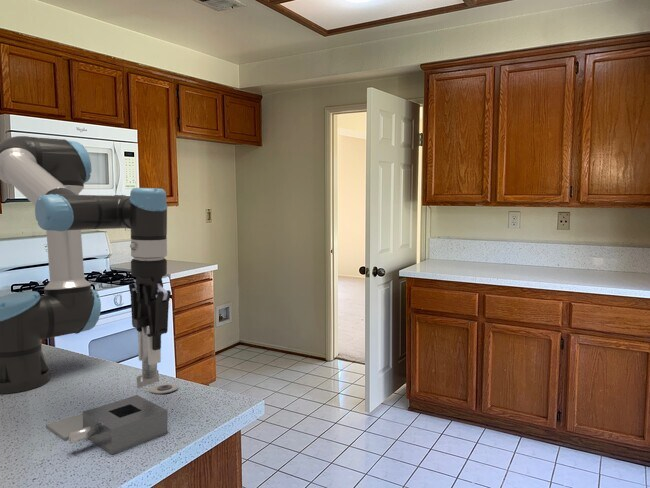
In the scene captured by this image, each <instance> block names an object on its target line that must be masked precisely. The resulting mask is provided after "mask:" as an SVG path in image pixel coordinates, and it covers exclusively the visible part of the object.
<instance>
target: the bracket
mask: <svg viewBox="0 0 650 488" xmlns="http://www.w3.org/2000/svg"><path fill="white" fill-rule="evenodd" d="M159 375H160V374H159V369H157V377H155V378H152V379H144V378H142V374H140V375H137V376H136V385H137V386H136V387H137V389H139V388H140V387H141V388H143V386H144V387H146V386H149V385H151V384H154V383H157V382H160V379H159V378H160V376H159ZM141 378H142V381H141ZM150 387H151V388H150ZM150 387H149V388H147V389H146V390H144V389H143V391H144V392H147V391H148V393H150V392H151V394H155V395H156V394H158V395H159V394H167V393H172V392H174V391H176V390H178V388H179V386H178V385H177V384H174V383H173V384H172V383H168V382H162V383H159V384H156V385H153V386H150ZM141 388H140V389H141Z"/></svg>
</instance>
